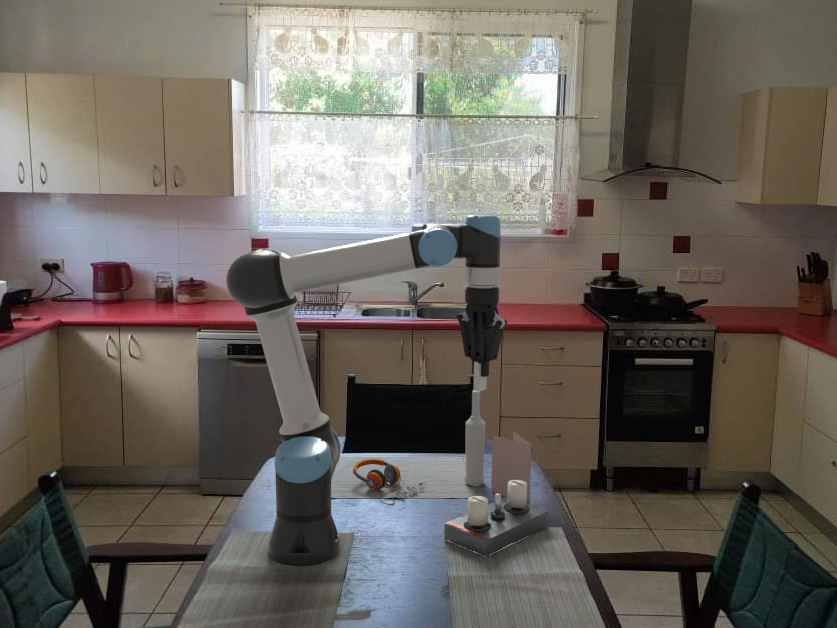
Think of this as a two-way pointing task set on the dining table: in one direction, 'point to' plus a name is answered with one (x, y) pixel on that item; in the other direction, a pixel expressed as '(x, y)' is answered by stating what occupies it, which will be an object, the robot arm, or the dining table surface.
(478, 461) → the bottle
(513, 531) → the mount
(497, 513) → the potentiometer stem
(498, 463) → the greeting card
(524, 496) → the knob far
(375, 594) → the dining table surface
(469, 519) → the knob near
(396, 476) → the headphones
